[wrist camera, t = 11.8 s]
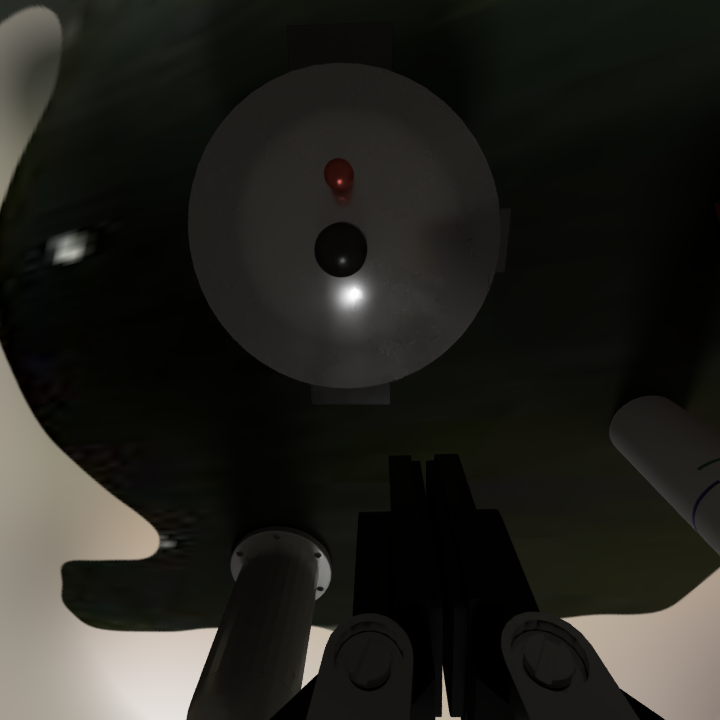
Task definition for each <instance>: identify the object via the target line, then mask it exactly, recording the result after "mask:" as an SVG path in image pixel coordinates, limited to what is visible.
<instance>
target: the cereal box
mask: <svg viewBox="0 0 720 720" xmlns="http://www.w3.org/2000/svg"><path fill="white" fill-rule="evenodd" d="M714 209H715V212H716V216H717V220H718V222H719V225H720V199H719V200H718V201H716V202H715V203H714Z"/></svg>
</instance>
